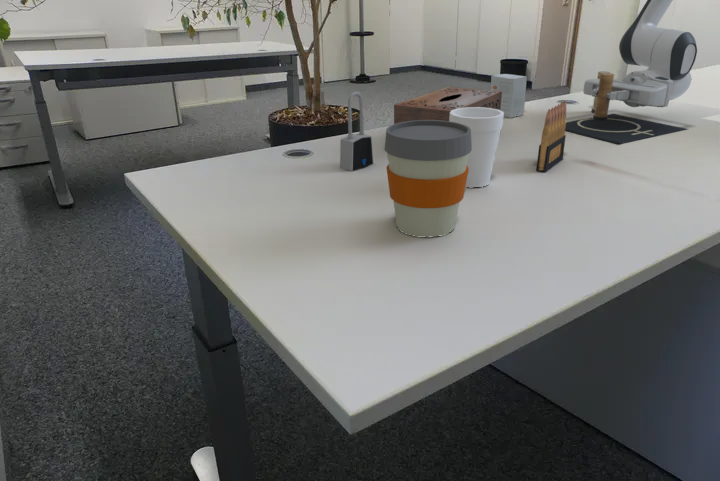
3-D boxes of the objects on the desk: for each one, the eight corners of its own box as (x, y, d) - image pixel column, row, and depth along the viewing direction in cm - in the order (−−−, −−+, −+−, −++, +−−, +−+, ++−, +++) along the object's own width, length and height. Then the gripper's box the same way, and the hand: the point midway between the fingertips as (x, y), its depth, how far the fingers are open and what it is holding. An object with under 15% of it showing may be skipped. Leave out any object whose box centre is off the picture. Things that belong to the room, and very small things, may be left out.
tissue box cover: (451, 158, 117) (454, 111, 112) (393, 149, 124) (394, 104, 120) (498, 132, 136) (502, 91, 131) (446, 126, 143) (447, 86, 139)
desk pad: (690, 131, 132) (691, 129, 132) (624, 146, 122) (624, 143, 122) (613, 115, 150) (613, 113, 150) (549, 126, 140) (549, 124, 139)
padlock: (353, 171, 110) (351, 95, 104) (338, 167, 113) (335, 93, 106) (375, 163, 114) (374, 90, 108) (360, 160, 117) (358, 88, 111)
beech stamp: (610, 119, 136) (618, 74, 131) (601, 121, 134) (608, 75, 130) (599, 116, 138) (606, 72, 134) (589, 118, 137) (596, 73, 132)
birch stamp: (607, 112, 153) (613, 72, 149) (598, 113, 152) (605, 73, 147) (597, 110, 156) (603, 70, 152) (588, 111, 155) (594, 72, 150)
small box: (523, 115, 152) (527, 76, 148) (510, 118, 149) (513, 78, 145) (502, 111, 158) (505, 73, 154) (488, 113, 155) (491, 75, 151)
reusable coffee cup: (481, 236, 81) (489, 135, 74) (401, 248, 78) (402, 144, 71) (445, 206, 92) (449, 116, 85) (374, 216, 89) (373, 123, 82)
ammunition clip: (545, 172, 107) (552, 110, 102) (535, 171, 108) (542, 109, 103) (562, 159, 114) (570, 100, 109) (554, 157, 115) (561, 99, 110)
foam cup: (505, 188, 99) (512, 116, 93) (456, 192, 97) (460, 119, 92) (486, 172, 107) (491, 105, 102) (440, 176, 106) (443, 108, 100)
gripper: (606, 71, 146) (569, 76, 140) (679, 81, 130) (641, 87, 124) (602, 95, 149) (566, 101, 143) (673, 107, 133) (635, 115, 127)
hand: (601, 94), depth 133 cm, fingers closed on beech stamp, 3 cm apart
